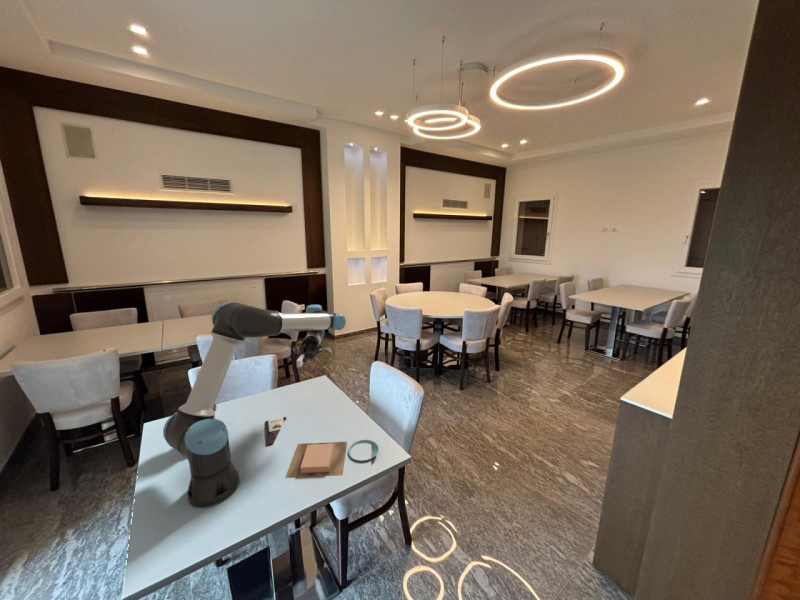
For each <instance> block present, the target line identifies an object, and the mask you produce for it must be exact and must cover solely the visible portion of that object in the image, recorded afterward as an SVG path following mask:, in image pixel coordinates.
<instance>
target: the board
mask: <svg viewBox="0 0 800 600" xmlns="http://www.w3.org/2000/svg"><path fill="white" fill-rule="evenodd" d="M318 444H333V447H334V450H333V455H332V460H331V464H330V469H329V472H316V473H301V471H300V467H301V464H302V461H303V458H304V455H305V452H306V448H307V445H318ZM296 445H297V446H296V448H295V450H294V453H293V456H292V458H291V461H290V463H289V466H288V469H287V472H286V475H285V479H289V478H291V479H292V478H309V477H329V476H330V477H331V476H333V477H334V476H343V474H344V466H345V461H346V453H347V446H348V441H334V442H333V441H331V442H309V443H307V442H306V443H297V444H296Z"/></svg>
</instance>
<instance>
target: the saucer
mask: <svg viewBox="0 0 800 600" xmlns="http://www.w3.org/2000/svg"><path fill="white" fill-rule="evenodd" d="M360 444H369V445H371V453H370V458H368V459H363V460H359V459H356V458H354V457H353V456H352V453H351V451H352V449H353V448H354V447H355V446H358V445H360ZM347 451H348V455H349V457H350V459H353V460H354V461H357V462H367V461H370V460H371V459H373V458H375V457H376V455H378V453H379V451H380V450H379V445H378V444H377V443H376V441H375V442H374V441H373V440H370V439H362V440H358V441H356V442H354V443H352V444H351V445H350V446H349V448H348V449H347Z"/></svg>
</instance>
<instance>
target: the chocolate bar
mask: <svg viewBox="0 0 800 600" xmlns="http://www.w3.org/2000/svg"><path fill="white" fill-rule="evenodd" d="M285 421H287V416H282V417H279V418H275V419H270V420H265V422H264V423H265V424H264V425H265V443H266V447H270V446H273V445H274V443H275V442H276V440H277V438H278V435H279V433H280V431H281V429H282V427H283V425H284V423H285Z"/></svg>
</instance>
